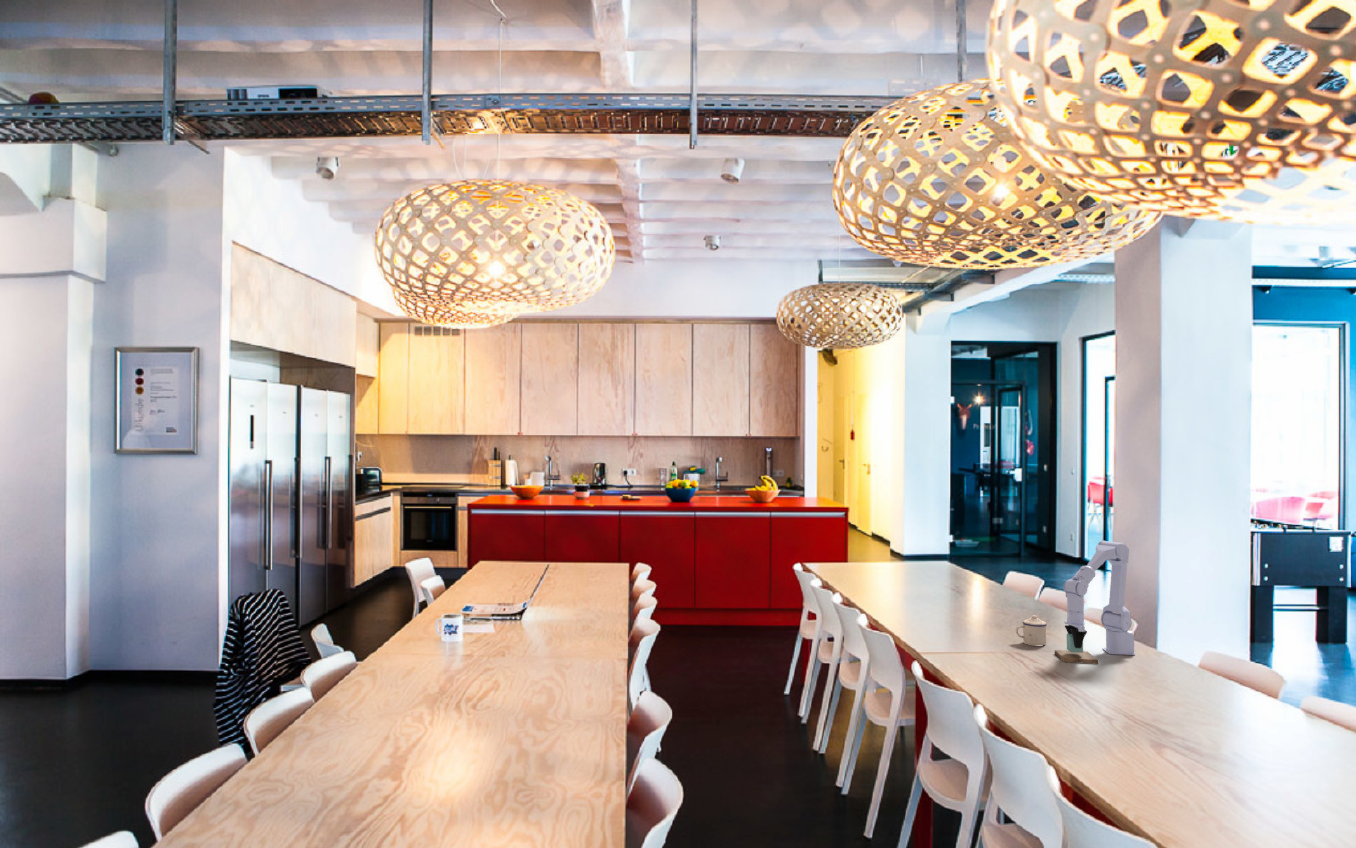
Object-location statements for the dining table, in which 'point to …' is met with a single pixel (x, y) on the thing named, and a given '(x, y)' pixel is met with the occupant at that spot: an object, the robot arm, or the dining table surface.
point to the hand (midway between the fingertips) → (1075, 646)
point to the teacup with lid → (1033, 631)
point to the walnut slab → (1076, 656)
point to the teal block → (1072, 645)
